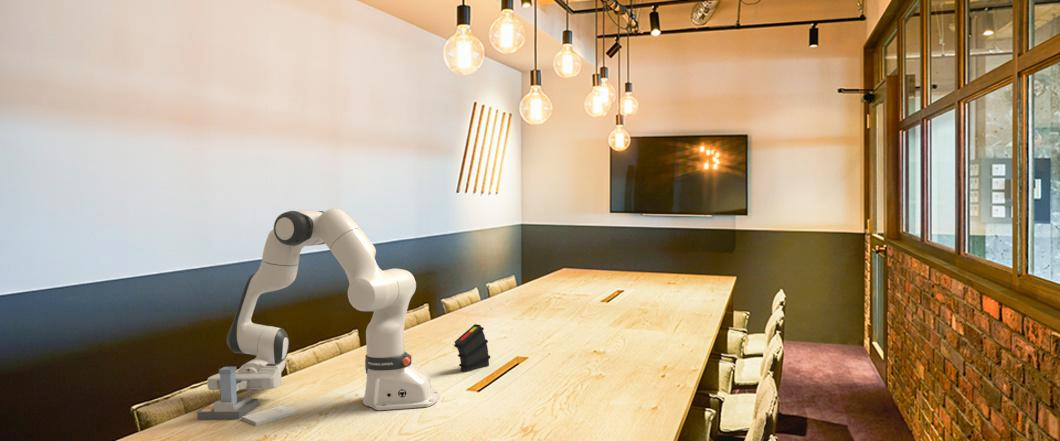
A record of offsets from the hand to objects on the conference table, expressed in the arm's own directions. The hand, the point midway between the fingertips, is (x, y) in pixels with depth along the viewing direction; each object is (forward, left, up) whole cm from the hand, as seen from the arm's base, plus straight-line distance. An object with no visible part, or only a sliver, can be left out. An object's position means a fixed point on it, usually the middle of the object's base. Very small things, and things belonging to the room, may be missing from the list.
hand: (231, 388), depth 192 cm
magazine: (-63, -45, -7) cm, 78 cm away
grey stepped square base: (+2, -1, -7) cm, 7 cm away
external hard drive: (-12, +3, -8) cm, 15 cm away
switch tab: (0, +1, -5) cm, 5 cm away
